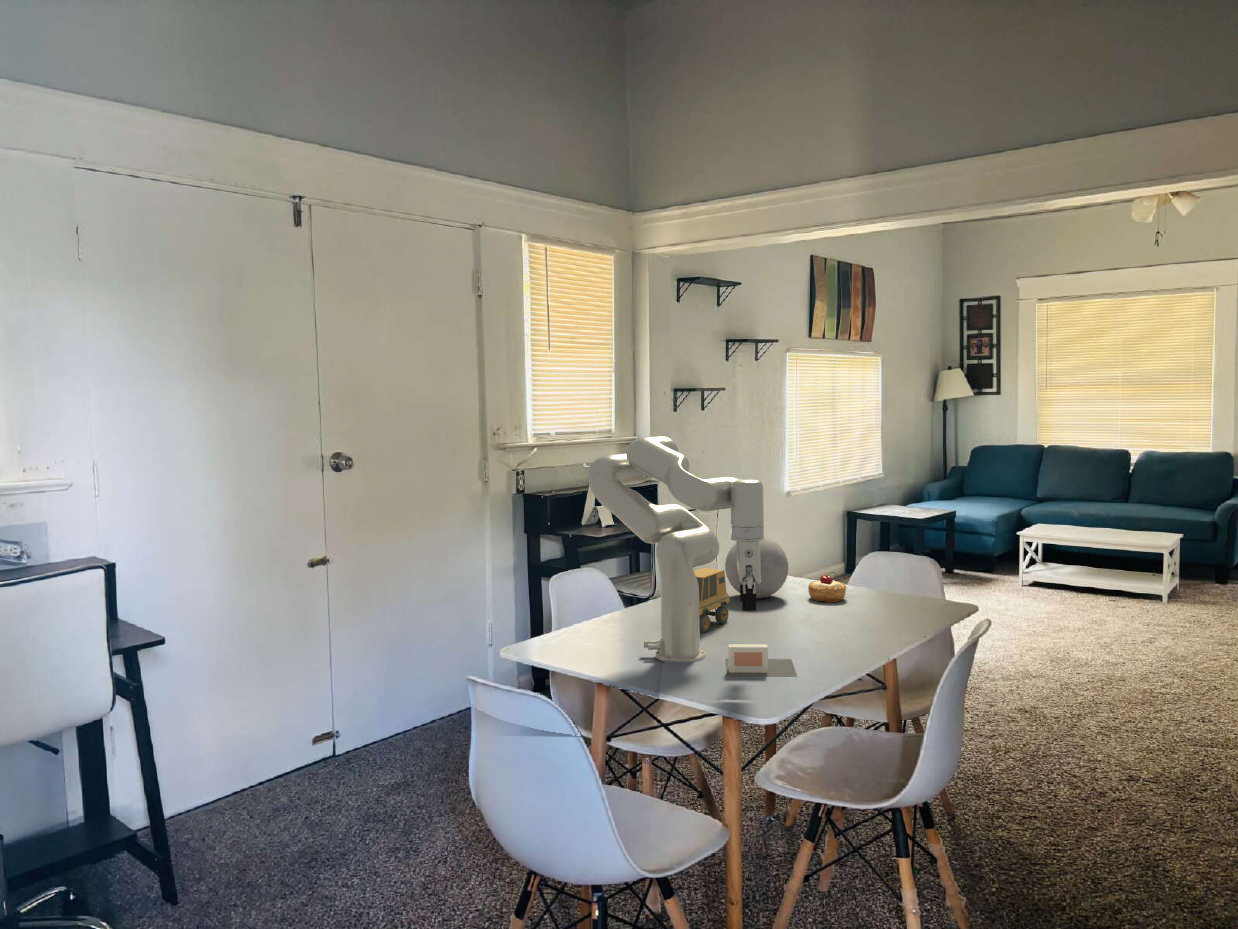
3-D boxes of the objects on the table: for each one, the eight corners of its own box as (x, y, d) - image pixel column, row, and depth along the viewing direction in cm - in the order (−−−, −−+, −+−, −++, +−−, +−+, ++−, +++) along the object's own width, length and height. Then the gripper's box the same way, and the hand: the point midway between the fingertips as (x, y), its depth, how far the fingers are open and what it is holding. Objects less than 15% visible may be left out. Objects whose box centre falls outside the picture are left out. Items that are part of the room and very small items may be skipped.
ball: (793, 604, 287) (793, 540, 286) (728, 605, 288) (727, 541, 286) (783, 590, 307) (783, 530, 305) (722, 591, 308) (722, 531, 306)
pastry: (804, 597, 299) (803, 570, 299) (840, 595, 300) (839, 568, 299) (814, 604, 287) (813, 576, 287) (851, 602, 288) (850, 574, 287)
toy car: (667, 630, 258) (667, 577, 257) (701, 616, 274) (700, 566, 273) (700, 635, 252) (699, 581, 251) (732, 621, 268) (732, 569, 267)
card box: (728, 672, 216) (728, 647, 216) (728, 669, 219) (728, 644, 219) (767, 673, 216) (767, 647, 215) (767, 669, 218) (766, 644, 218)
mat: (727, 678, 214) (727, 676, 214) (725, 661, 228) (725, 658, 228) (797, 679, 213) (797, 676, 212) (791, 661, 226) (791, 659, 226)
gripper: (766, 538, 206) (767, 614, 207) (761, 527, 223) (761, 597, 224) (732, 538, 207) (733, 614, 208) (729, 528, 224) (730, 598, 225)
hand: (748, 605), depth 216 cm, fingers open, 9 cm apart
